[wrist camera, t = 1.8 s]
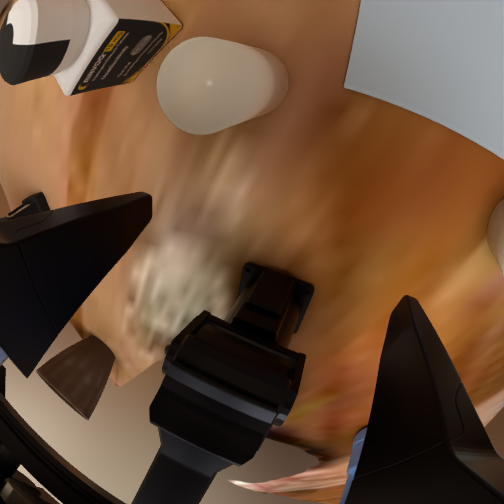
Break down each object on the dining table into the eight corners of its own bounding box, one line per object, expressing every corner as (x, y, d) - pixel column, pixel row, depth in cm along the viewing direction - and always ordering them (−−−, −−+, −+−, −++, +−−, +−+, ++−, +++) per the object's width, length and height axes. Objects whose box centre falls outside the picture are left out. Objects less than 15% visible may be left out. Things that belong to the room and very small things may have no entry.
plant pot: (95, 355, 62) (59, 397, 50) (69, 314, 54) (25, 360, 42) (136, 378, 57) (99, 429, 45) (111, 336, 49) (62, 395, 37)
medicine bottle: (131, 84, 20) (6, 119, 11) (98, 37, 18) (-16, 56, 9) (185, 26, 16) (43, 21, 6) (144, -19, 14) (18, -29, 4)
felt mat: (503, 159, 13) (505, 160, 12) (344, 87, 15) (343, 87, 15) (531, 17, 5) (533, 16, 5) (370, -59, 8) (370, -62, 7)
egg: (281, 122, 18) (239, 144, 13) (215, 109, 19) (154, 127, 14) (294, 53, 15) (255, 39, 9) (224, 45, 16) (161, 37, 11)
